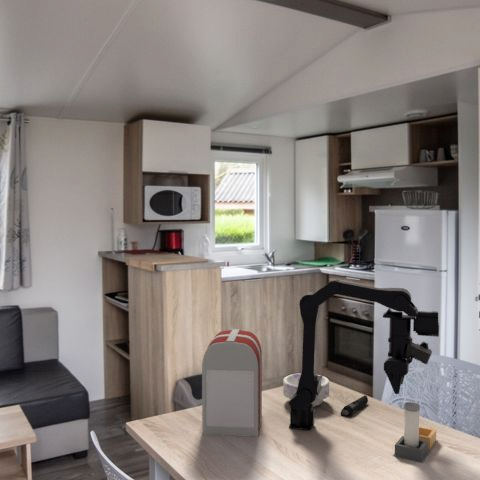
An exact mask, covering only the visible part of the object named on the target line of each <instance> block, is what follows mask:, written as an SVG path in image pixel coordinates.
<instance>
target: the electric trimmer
mask: <svg viewBox="0 0 480 480" xmlns="http://www.w3.org/2000/svg"><path fill="white" fill-rule="evenodd" d="M368 402H369V399H368V396H367V395H362V396H361V397H359V398H358V399H356V400H354V401H352V402H350V403H348V404H347V405H344V407H343V408H342V409H341V411H340V416H342V417H345V418H352V417H353V414H354V413H356V412H357V411H358V410H363V408H364V407H365V406H366V405H367V404H368Z"/></svg>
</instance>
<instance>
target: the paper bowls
mask: <svg viewBox="0 0 480 480" xmlns="http://www.w3.org/2000/svg"><path fill="white" fill-rule="evenodd" d="M301 373H302V372H300V373H293V374H292V373H291V374H289V375H287V376H285V377H284V378H283V380H282V381H283V382H282V385H283V386H282V388H283V390H282V392H283V396H284V397H286V398H287V399H288V400H289V401H290V400H291V398H292V397H293V395H294V394H295V393H296V392H297V388H298V383H299V380H300V376H301ZM317 375H318V376H322V380H321V386H322V389H321V391H320V393H319V395H317V397H316V399H315V401H314V402H312V403H310V404H313V407H317V406H320V405H321V404H322V402H323V401H324V400H325V399H327V398H328V397H329V396H330V380H329V378H327V377H326V376H324V375H320V374H318V373H317Z"/></svg>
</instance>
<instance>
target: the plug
mask: <svg viewBox="0 0 480 480" xmlns="http://www.w3.org/2000/svg"><path fill="white" fill-rule="evenodd" d="M403 407H404V408H403V409H404V421H403V423H404V425H403V426H404V432H403V434H404V435H403V436H404V445H405V446H409V447H413V448H418V449H419V426H420V408H421V406H420V404H419V403H418V402H410V401H409V402H407V401H406V402H405V403H404V404H403Z"/></svg>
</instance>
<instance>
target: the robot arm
mask: <svg viewBox="0 0 480 480" xmlns="http://www.w3.org/2000/svg"><path fill="white" fill-rule="evenodd" d="M335 295H339V296H343V297H349V298H354V299H359V300H363V301H369V302H374V303H377V304H379V305H381V306H384V307H385V308H387V310H386V311H385V312H384V313H383V314H382V318H385V319H389V328H388V329H389V336H388V338H387V342H388V352H387V359H386V360H385V361H383V371H384V373H385V374H386V377H387V379H388V380H389V384H390V386H391V388H392V390H393V392H394V394H395V395H399V394H400V391H401V387H402V385H403V384H404V379H405V376H407V375H408V373H409V368H410V364H411V363H412V362H413V360H416V361H419V362H421V363H422V364H423V365H428V363H429V360H430V358H431V356H432V353H433V351H432V349H431V348H429V343H427V342H425V341H422V342H421V343H414V342H413V337H412V334H411V333H412V331H413V332H415V334H417V336H424V337H436V338H439V335H440V323H439V311H433V310H432V311H424V310H423V311H422V310H420V311H419V309H418V308H417V306H416V305H415V303H414V302H413V300H412V295H411V293H410V291H408V289H406V288H402V287H381V288H380V287H375V286H371V285H370V286H369V285H363V284H358V283H355V282H354V283H353V282H348V281H343V280H339V279H336V278H335V279H331V280H330V281H329V282H328V283H327V284H325V285H324V286H323V287H321V288H320V289H318V290H316V291H309V292H308V293H306V294H304V295H303V296H302V297H301V298H300V300H299V303H298V305H299V311H300V317H301V320H302V324H303V327H302V328H303V330H302V354H301V355H302V358H301V359H302V360H301V372H300V373H301V376H300V380H299V383H298V388H297V392H296V393H295V394H294V395H293V397H292V398H291V400H290V399H289V401H288V404H289V422H290V423H289V425H288V428H289V429H297V430H306V431H311V430H312V427H313V426H314V425H315V417H316V416H315V415H316V414H315V413H316V412H315V409H314V408H313V404H310V403H312V402H314V401H315V399H316V397H317V395H319V393H320V391H321V389H322V386H321V380H322V376H323V375H321V376H318V375H319V374H318V372H317V350H318V349H317V348H318V347H317V346H318V323H319V320H320V316H321V313H322V308H323V303H325V302H326V301H327V300H329V299H330V298H332V297H333V296H335ZM412 320H413V322H412ZM412 323H413V326H412ZM411 327H412V328H413V329H412V328H411ZM411 329H412V331H411ZM317 374H318V375H317Z"/></svg>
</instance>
